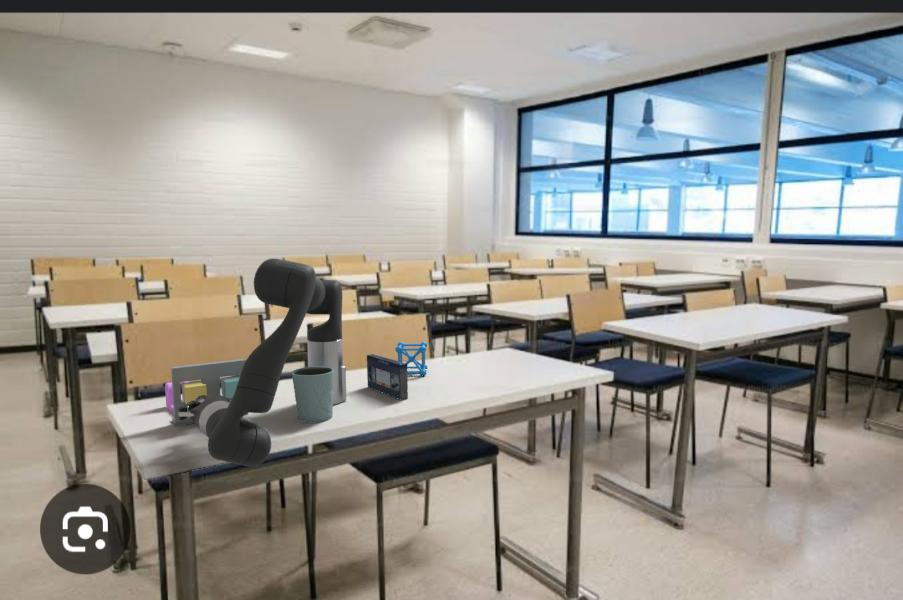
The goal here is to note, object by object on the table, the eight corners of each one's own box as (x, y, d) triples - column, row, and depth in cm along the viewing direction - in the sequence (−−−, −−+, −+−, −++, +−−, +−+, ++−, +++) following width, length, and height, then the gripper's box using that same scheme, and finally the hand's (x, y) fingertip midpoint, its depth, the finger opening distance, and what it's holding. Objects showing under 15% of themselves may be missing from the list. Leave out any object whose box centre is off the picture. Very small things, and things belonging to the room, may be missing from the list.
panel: (243, 409, 155) (240, 356, 154) (248, 414, 151) (246, 360, 150) (172, 420, 146) (169, 364, 145) (175, 426, 142) (172, 368, 140)
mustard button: (201, 397, 146) (200, 379, 145) (207, 404, 140) (206, 384, 140) (181, 400, 143) (180, 382, 143) (186, 407, 138) (185, 387, 137)
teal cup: (342, 417, 148) (341, 370, 147) (306, 426, 141) (305, 377, 140) (321, 409, 155) (320, 364, 154) (285, 417, 149) (284, 370, 147)
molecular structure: (426, 377, 191) (426, 346, 190) (395, 377, 191) (394, 346, 190) (427, 370, 201) (427, 340, 200) (398, 370, 201) (397, 340, 200)
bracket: (166, 407, 158) (164, 381, 157) (188, 403, 162) (186, 378, 161) (180, 418, 148) (178, 391, 147) (203, 414, 152) (201, 387, 151)
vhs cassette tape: (366, 387, 178) (366, 354, 177) (375, 385, 180) (375, 353, 179) (399, 400, 164) (398, 365, 162) (408, 399, 165) (408, 363, 164)
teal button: (239, 392, 150) (238, 374, 150) (246, 398, 145) (245, 379, 145) (220, 395, 148) (219, 377, 147) (226, 401, 143) (225, 382, 142)
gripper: (251, 396, 123) (231, 379, 137) (182, 406, 115) (168, 387, 130) (253, 431, 124) (232, 411, 138) (184, 444, 116) (170, 421, 131)
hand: (201, 399), depth 134 cm, fingers closed
